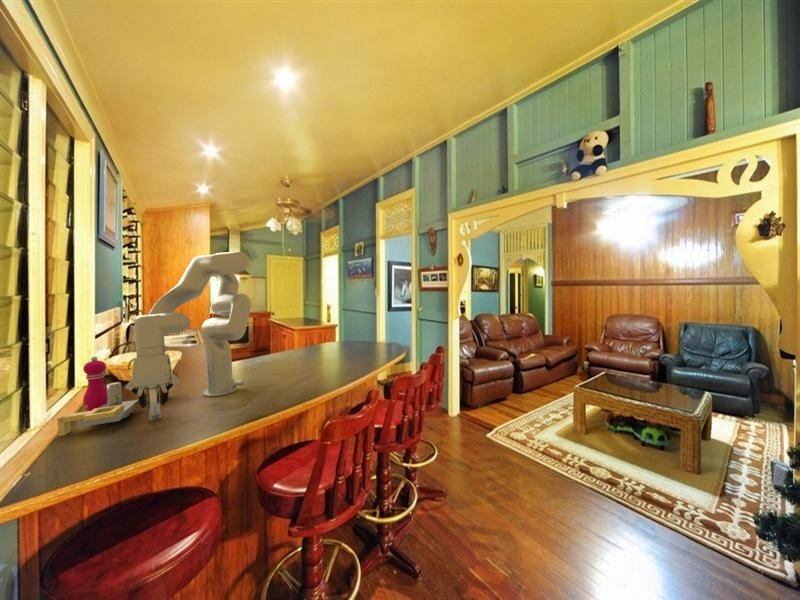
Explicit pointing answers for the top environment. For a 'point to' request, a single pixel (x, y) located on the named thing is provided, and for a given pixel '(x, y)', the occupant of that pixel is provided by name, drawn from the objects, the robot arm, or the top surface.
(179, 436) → the top surface
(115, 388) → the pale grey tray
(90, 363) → the pepper mill
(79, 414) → the bracket
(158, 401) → the steel pin
